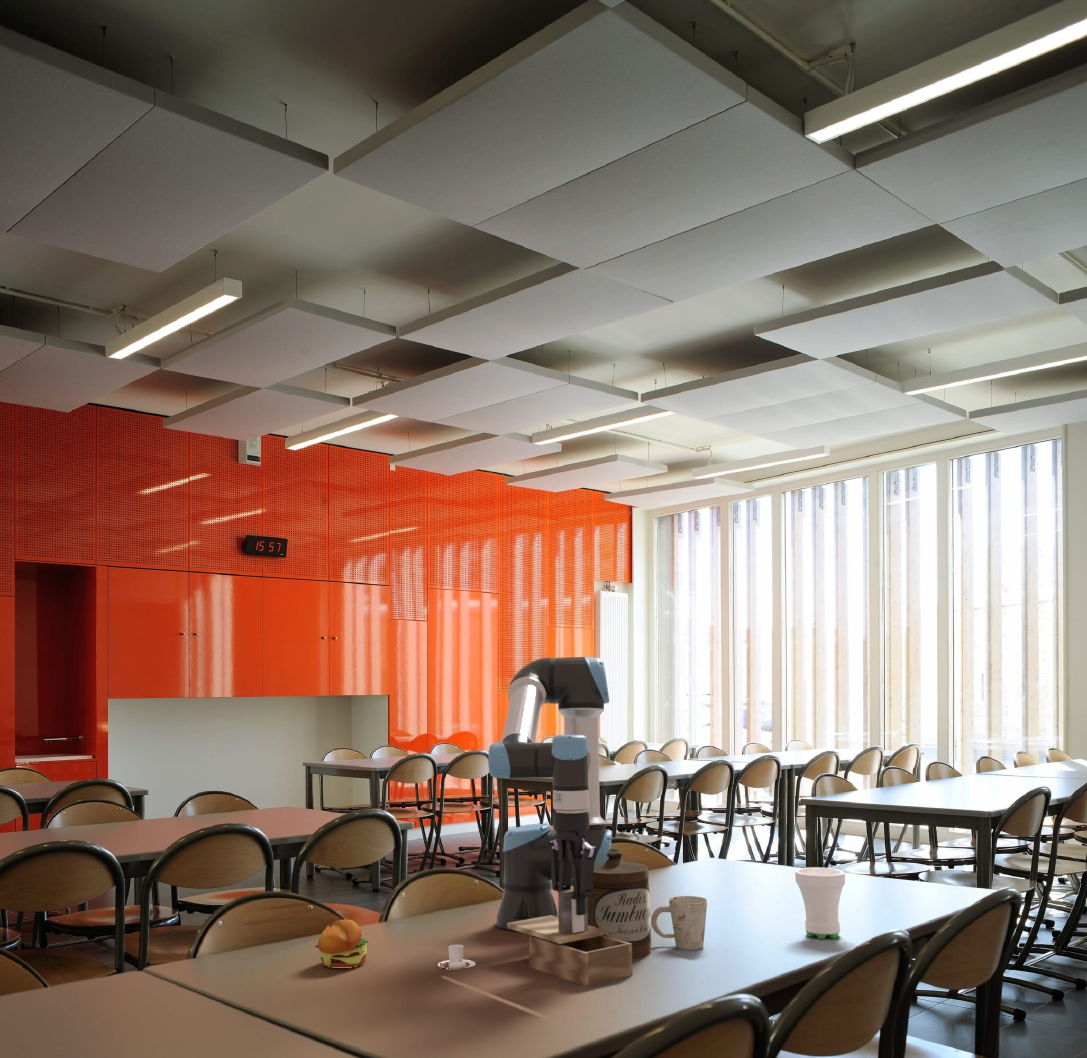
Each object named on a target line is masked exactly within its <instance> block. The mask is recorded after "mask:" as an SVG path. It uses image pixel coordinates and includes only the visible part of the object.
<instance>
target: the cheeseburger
mask: <svg viewBox="0 0 1087 1058" xmlns="http://www.w3.org/2000/svg"><path fill="white" fill-rule="evenodd" d="M362 936H363V935H362V929H361V928H360V926H359V924H358V923H357V922H356V921H354V920H352V919H340V920H336V921H334V922H331V923H329V924H328V925H326V928H325V929H324V930H323V931H322V933H321V934H320V936H319V938H318V940H317V944H316V945H315V948H316V949H318V951H319V952H318V953H319V954H318V957H319V959H320V960H321V963H322V966H323V965H325V966H324V967H326V966H329V967H355V966H358V967H360V966H362V965H364V963H365V962H366V960H367V950H368V949H367V944H368V943H369V941H368V940H366V939H364V938H362ZM359 965H360V966H359Z"/></svg>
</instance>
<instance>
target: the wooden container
mask: <svg viewBox="0 0 1087 1058" xmlns="http://www.w3.org/2000/svg"><path fill="white" fill-rule="evenodd" d="M606 855H607V856H608V857H609V858H608V860H607V861H606V862H597V863H594V875H593V894H592V895H590V896H587V911H588V925H589V926H593V927H596V928H600V929H604V930H605V935H603V936H606V937H610V938H613V939H617V940H621V941H624V942H628V943H632V960H637V959H642V958H646V957H648V956H649V955H651V953H652V936H651V935H652V929H651V928H652V925H651V903H650V900H651V899H650V883H649V875H650V874H649V873H650V872H649V866H648V865H645V864H642V863H638V862H631V861H624V860H623V859H622V857H623V852H622V850H621V849H619V848H615V847H612V848H611V849H610V850H608V851H607V854H606Z"/></svg>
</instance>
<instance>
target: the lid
mask: <svg viewBox="0 0 1087 1058" xmlns="http://www.w3.org/2000/svg"><path fill="white" fill-rule="evenodd" d="M579 892H580V891H579ZM557 896H558V897H557V899H558V900H557V904H558V907H557V912H558V917H555V916H552V915H549V916H544V917H538V918H533V919H527V920H521V921H516V922H510V923H507V928H509V929H512V930H511V931H513V930H516V931H515V932H519V933H523V934H525V935H529V936H536V937H539V938H542V939H546V940H549V941H552V942H556V943H559V944H562V943H567V942H572V941H577V940H582V939H587V938H592V937H597V936H602V935H605V930H604V929H600V928H596V927H593V926H589V925H588V911H587V897H586V898H585V915H584V931H581V932H576V933H573V932H572V912H571V896H574V890H573V888H571V890H564V891H558V892H557Z"/></svg>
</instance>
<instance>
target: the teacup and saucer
mask: <svg viewBox="0 0 1087 1058" xmlns="http://www.w3.org/2000/svg"><path fill="white" fill-rule="evenodd" d="M464 948H465V946H464V945H463V944H451V945H449V946H448V958H449V959H447V960H443V961H440V962H438V963H437V965H438V966H439V967H440V963H442V964H443V963H445V962H448V965H447V966H448V967H446V969H445V970H450V971H453V970H454V971H456V970H462V969H467V968H471V967H475V966H476V964H477V963H476V962H475V961H473V960H470V959H464ZM467 963H468V964H469V965H468V966H467ZM445 964H446V963H445ZM438 966H437V967H438ZM439 967H438V968H439ZM444 967H445V966H444ZM444 967H443V968H444ZM448 968H449V969H448Z"/></svg>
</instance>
